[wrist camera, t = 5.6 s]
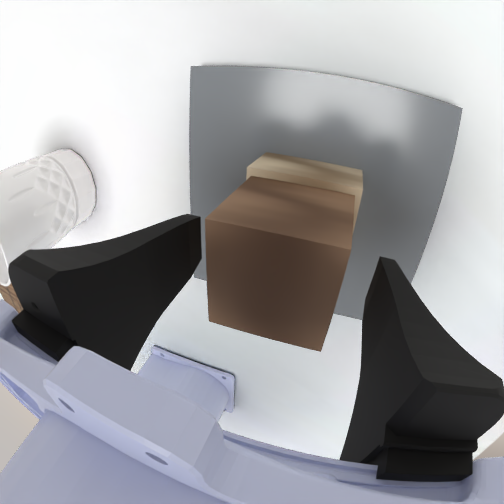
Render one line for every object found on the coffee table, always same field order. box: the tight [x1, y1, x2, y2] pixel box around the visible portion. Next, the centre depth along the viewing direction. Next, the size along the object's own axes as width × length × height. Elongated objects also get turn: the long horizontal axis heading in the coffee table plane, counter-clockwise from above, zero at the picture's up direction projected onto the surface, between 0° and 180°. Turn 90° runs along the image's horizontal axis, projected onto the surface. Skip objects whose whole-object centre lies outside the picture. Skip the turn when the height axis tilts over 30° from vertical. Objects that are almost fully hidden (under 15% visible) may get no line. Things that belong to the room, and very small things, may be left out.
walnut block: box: [205, 176, 355, 352], centre depth 12 cm, size 4×4×4 cm
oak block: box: [246, 152, 363, 231], centre depth 15 cm, size 5×5×3 cm
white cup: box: [0, 149, 96, 286], centre depth 19 cm, size 8×8×10 cm
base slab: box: [189, 66, 462, 320], centre depth 17 cm, size 14×14×1 cm
